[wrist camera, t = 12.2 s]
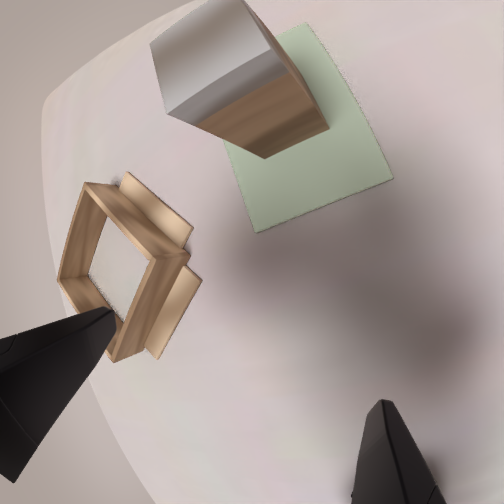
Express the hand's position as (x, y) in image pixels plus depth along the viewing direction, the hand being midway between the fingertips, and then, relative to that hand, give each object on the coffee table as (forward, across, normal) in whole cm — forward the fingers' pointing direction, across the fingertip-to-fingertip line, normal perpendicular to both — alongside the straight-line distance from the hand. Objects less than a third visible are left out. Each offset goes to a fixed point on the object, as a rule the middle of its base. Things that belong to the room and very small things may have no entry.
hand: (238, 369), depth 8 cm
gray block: (+15, +3, -7) cm, 17 cm away
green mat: (+16, +3, -7) cm, 17 cm away
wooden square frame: (+14, +15, +9) cm, 23 cm away
